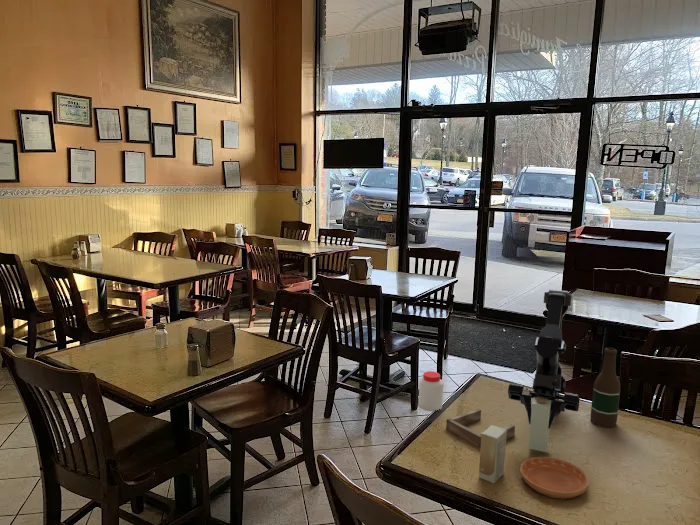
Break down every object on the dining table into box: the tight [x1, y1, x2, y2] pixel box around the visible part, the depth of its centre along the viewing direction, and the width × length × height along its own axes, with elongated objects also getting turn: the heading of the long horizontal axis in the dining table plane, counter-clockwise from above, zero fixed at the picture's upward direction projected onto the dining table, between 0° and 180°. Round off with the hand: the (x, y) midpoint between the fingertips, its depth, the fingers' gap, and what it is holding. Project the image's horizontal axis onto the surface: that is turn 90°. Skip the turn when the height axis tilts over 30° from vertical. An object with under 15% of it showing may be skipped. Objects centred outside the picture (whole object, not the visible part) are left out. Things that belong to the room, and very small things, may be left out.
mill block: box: [528, 396, 551, 452], centre depth 147 cm, size 5×5×14 cm
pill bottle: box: [418, 371, 444, 412], centre depth 176 cm, size 8×8×11 cm
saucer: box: [519, 456, 590, 500], centre depth 133 cm, size 16×16×3 cm
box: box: [445, 408, 516, 449], centre depth 159 cm, size 14×14×3 cm
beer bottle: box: [590, 347, 621, 429], centre depth 166 cm, size 8×8×24 cm
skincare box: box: [478, 424, 507, 484], centre depth 135 cm, size 6×4×12 cm
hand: (539, 425), depth 146 cm, fingers closed on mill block, 5 cm apart
